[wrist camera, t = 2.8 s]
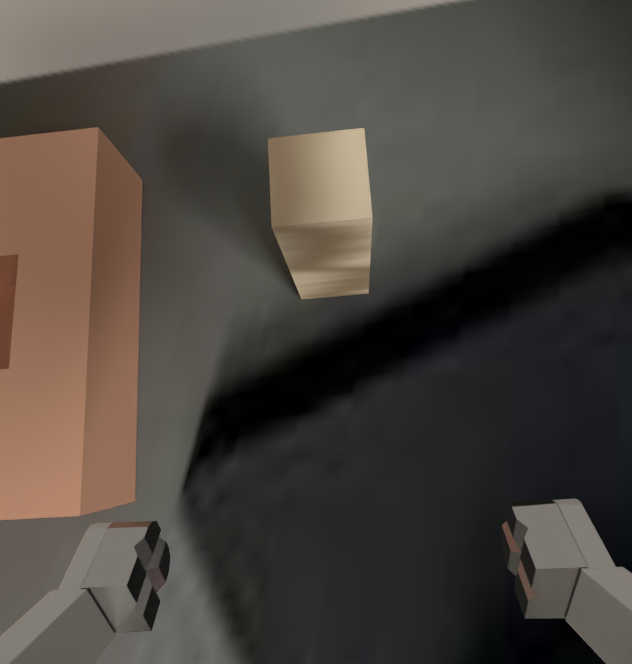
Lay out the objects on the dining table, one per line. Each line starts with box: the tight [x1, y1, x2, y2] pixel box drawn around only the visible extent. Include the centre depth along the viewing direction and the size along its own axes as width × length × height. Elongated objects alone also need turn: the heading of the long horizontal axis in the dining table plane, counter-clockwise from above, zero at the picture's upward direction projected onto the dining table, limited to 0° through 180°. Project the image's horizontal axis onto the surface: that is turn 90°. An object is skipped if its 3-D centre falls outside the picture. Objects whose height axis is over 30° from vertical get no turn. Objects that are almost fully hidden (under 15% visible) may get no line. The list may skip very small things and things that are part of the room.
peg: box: [268, 128, 372, 299], centre depth 24 cm, size 4×4×10 cm
